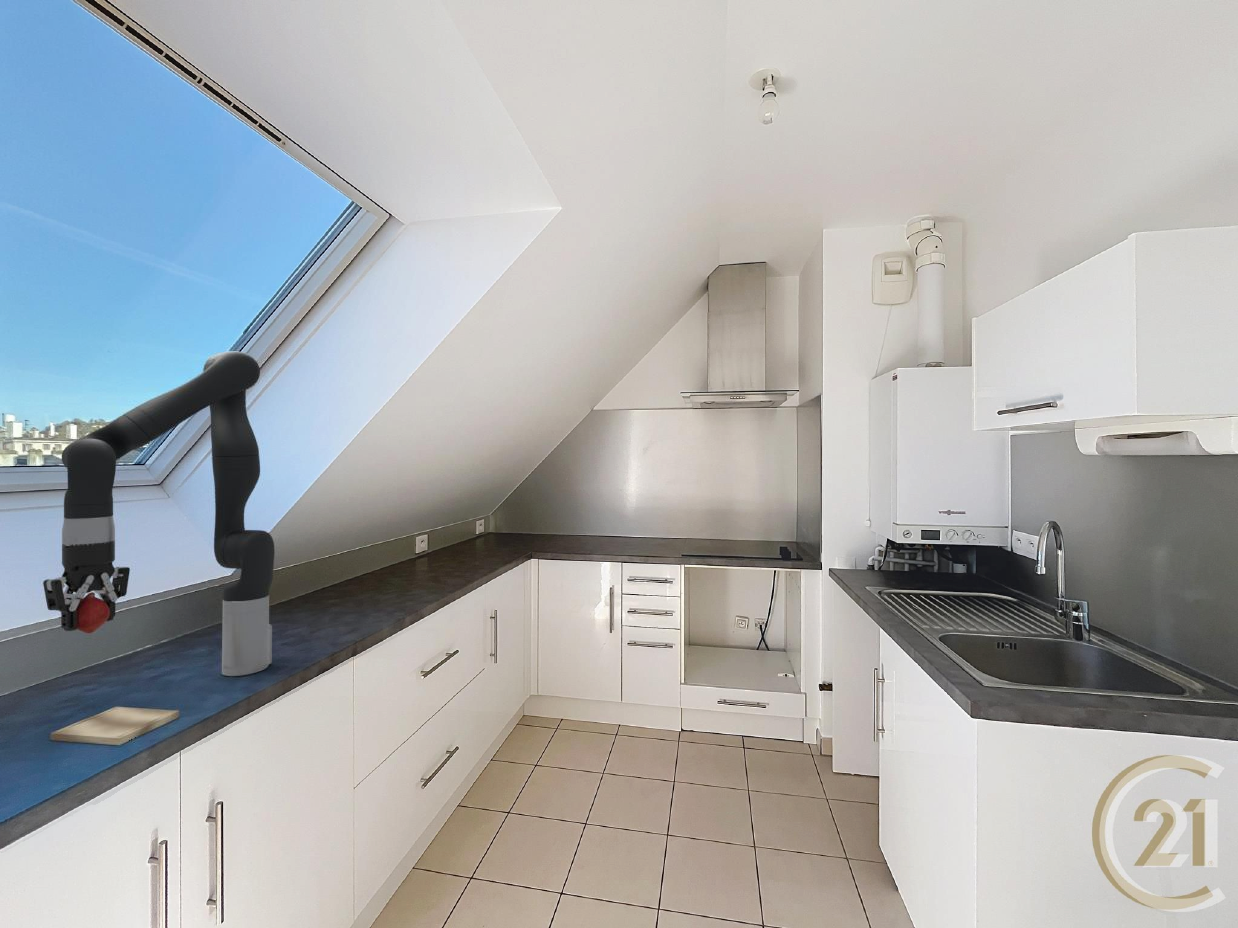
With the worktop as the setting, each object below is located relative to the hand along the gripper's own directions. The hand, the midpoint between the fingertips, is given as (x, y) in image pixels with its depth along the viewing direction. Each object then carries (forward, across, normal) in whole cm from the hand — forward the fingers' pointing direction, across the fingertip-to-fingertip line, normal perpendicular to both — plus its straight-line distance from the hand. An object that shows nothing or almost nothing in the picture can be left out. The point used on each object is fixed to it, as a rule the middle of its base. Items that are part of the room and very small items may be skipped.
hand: (89, 624), depth 108 cm
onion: (+2, 0, 0) cm, 2 cm away
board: (+17, +5, +13) cm, 22 cm away
